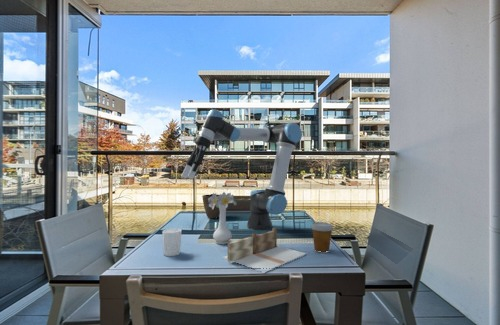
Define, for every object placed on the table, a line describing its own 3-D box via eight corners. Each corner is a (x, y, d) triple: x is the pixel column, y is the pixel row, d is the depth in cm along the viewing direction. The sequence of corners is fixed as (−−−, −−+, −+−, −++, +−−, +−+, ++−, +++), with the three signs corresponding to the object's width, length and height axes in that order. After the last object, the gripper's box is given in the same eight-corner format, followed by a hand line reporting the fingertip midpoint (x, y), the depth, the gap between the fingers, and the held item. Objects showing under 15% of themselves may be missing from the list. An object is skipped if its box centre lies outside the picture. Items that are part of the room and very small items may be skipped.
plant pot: (199, 219, 189) (199, 196, 189) (206, 215, 203) (206, 194, 203) (219, 220, 186) (220, 197, 186) (225, 216, 201) (225, 194, 201)
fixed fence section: (274, 245, 129) (274, 227, 129) (277, 246, 127) (277, 228, 127) (250, 253, 117) (250, 233, 117) (253, 254, 116) (254, 234, 116)
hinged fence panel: (250, 253, 116) (250, 236, 116) (252, 253, 115) (252, 237, 115) (227, 260, 107) (227, 243, 107) (230, 261, 106) (230, 243, 106)
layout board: (266, 244, 133) (266, 242, 133) (306, 254, 118) (306, 253, 118) (223, 258, 112) (223, 256, 112) (264, 273, 97) (264, 271, 97)
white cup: (164, 250, 121) (164, 228, 121) (182, 250, 122) (182, 228, 122) (160, 257, 113) (160, 233, 113) (179, 256, 114) (179, 232, 114)
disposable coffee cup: (333, 248, 126) (333, 223, 126) (332, 255, 117) (332, 227, 117) (312, 246, 130) (312, 221, 130) (309, 252, 121) (310, 225, 121)
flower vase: (220, 236, 146) (220, 189, 146) (243, 243, 133) (243, 192, 133) (199, 240, 137) (199, 191, 137) (221, 249, 124) (222, 194, 124)
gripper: (191, 138, 145) (174, 174, 141) (205, 131, 123) (185, 174, 119) (204, 144, 148) (187, 180, 144) (219, 139, 126) (200, 181, 121)
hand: (186, 177), depth 131 cm, fingers open, 13 cm apart
